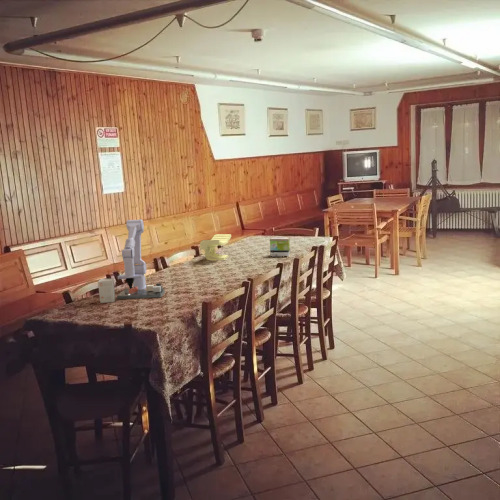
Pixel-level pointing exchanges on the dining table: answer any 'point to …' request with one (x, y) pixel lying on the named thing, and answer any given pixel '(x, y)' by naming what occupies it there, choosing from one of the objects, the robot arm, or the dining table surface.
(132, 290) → the red lever
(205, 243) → the slatted curved stool
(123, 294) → the console
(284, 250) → the tea box
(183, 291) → the dining table surface
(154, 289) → the grey block
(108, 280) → the small box
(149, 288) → the cream block
